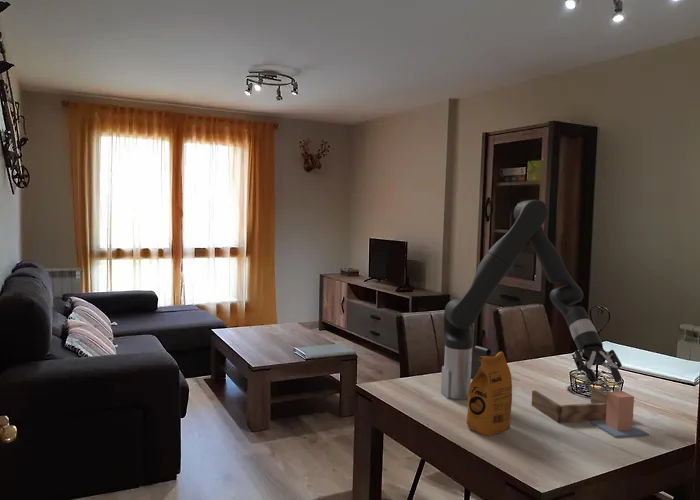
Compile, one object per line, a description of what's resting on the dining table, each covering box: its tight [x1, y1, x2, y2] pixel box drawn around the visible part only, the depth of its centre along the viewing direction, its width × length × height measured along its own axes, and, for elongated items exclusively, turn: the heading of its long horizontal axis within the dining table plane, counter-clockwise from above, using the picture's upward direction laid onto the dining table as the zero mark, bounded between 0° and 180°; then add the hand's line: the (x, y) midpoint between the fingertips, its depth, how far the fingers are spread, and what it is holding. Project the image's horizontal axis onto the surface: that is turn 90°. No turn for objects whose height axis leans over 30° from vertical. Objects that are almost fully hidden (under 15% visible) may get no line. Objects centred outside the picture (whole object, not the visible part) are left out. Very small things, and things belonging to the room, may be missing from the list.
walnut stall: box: [531, 387, 607, 424], centre depth 167 cm, size 23×15×5 cm, turn 101°
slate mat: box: [589, 420, 650, 439], centre depth 154 cm, size 11×11×1 cm
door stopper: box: [471, 345, 492, 380], centre depth 201 cm, size 9×6×12 cm, turn 124°
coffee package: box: [465, 351, 513, 437], centre depth 152 cm, size 10×12×22 cm
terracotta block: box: [606, 390, 635, 431], centre depth 154 cm, size 5×5×10 cm
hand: (606, 381), depth 159 cm, fingers open, 8 cm apart
